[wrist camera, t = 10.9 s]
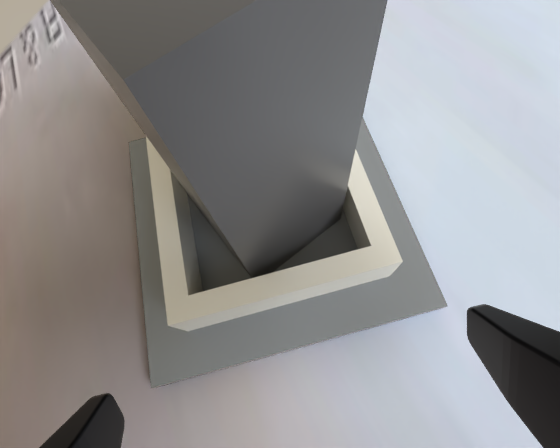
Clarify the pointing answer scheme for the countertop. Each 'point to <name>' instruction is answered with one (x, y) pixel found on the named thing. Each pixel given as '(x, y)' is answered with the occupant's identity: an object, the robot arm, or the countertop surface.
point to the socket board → (270, 274)
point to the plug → (243, 105)
